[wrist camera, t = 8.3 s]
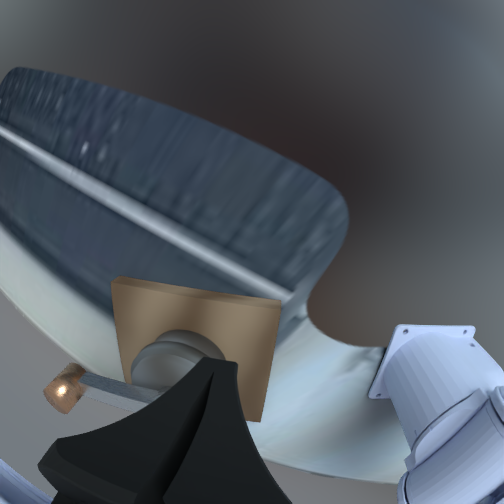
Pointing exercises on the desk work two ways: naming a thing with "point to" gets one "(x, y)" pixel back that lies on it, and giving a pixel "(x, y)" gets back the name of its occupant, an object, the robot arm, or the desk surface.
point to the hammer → (96, 390)
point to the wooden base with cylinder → (194, 335)
